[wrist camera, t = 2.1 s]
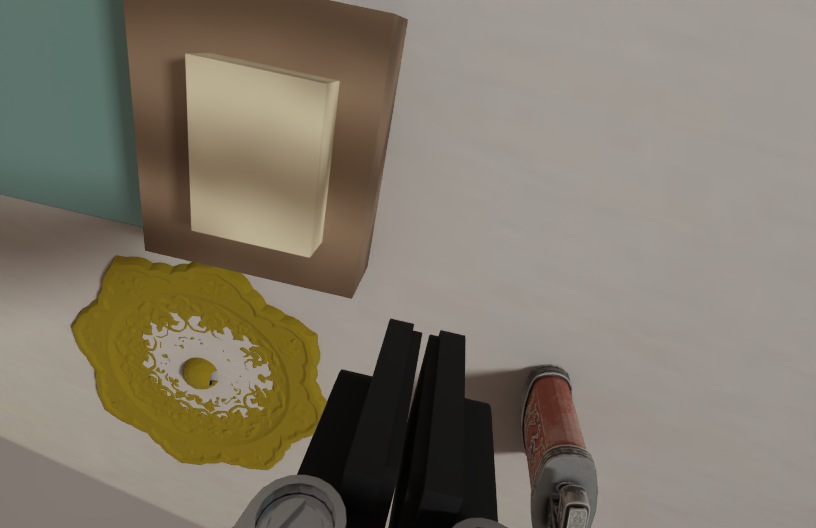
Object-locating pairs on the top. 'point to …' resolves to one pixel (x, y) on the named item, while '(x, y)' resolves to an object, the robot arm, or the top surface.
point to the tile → (259, 151)
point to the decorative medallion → (200, 362)
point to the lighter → (556, 453)
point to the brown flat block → (284, 48)
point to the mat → (68, 108)
